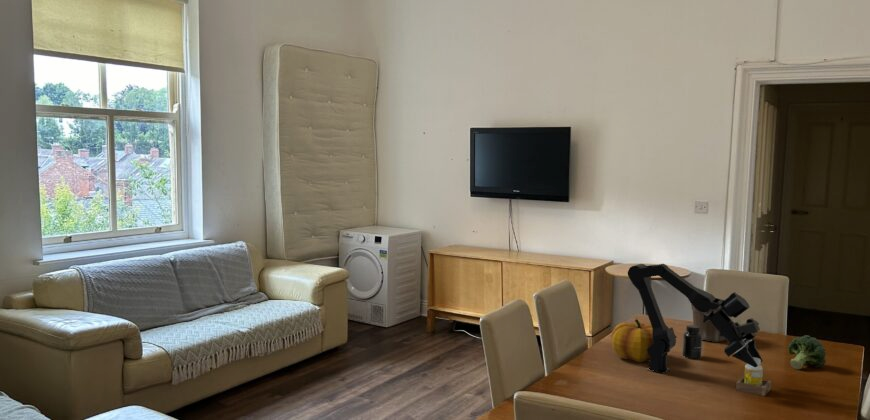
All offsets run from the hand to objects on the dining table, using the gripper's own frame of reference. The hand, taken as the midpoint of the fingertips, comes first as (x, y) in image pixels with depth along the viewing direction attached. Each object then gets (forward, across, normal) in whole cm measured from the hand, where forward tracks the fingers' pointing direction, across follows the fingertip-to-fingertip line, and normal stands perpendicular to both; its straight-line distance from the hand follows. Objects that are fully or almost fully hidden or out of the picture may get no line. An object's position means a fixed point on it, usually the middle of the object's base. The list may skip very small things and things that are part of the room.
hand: (759, 364), depth 218 cm
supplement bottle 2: (+5, 0, +7) cm, 8 cm away
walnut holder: (+5, 0, +7) cm, 9 cm away
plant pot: (-16, +57, +29) cm, 66 cm away
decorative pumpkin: (-25, +10, +38) cm, 47 cm away
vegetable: (+12, +40, +1) cm, 41 cm away
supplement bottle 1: (-14, +25, +27) cm, 39 cm away
